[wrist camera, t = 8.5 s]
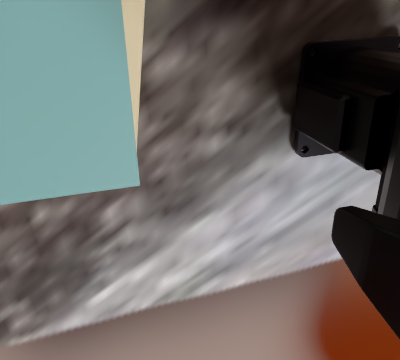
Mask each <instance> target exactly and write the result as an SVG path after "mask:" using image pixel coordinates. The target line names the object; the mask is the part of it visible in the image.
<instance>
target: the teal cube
mask: <svg viewBox="0 0 400 360" xmlns="http://www.w3.org/2000/svg"><path fill="white" fill-rule="evenodd" d="M139 185H140V180H139V171H138V161H137V151H136V141H135V131H134V121H133V111H132V101H131V92H130V82H129V72H128V62H127V52H126V42H125V32H124V23H123V13H122V3H121V0H0V205H3V204H10V203H17V202H24V201H31V200H39V199H46V198H53V197H60V196H67V195H75V194H82V193H89V192H96V191H103V190H111V189H118V188H125V187H132V186H139Z"/></svg>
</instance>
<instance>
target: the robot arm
mask: <svg viewBox="0 0 400 360" xmlns="http://www.w3.org/2000/svg"><path fill="white" fill-rule="evenodd" d="M399 43H400V36H391V37H376V38H362V39H347V40H332V41H317V42H309V43H307V44H306V45H305V46H304V48H303V51H302V59H301V72H300V82H299V84H298V85H297V94H296V107H295V120H294V127H295V128H296V133H295V146H294V150H295V153H296V154H298V155H299V156H301V157H310V156H317V155H324V154H331V153H339V154H340V155H342V156H344V157H345V158H347V159H349V160H350V161H352V162H354V163H355V164H357V165H359V166H360V167H362V168H364V169H365V170H374V171H375V172H377V173H379V174H380V175H381V180H380V185H379V190H378V195H377V200H376V205H374V206H373V208H372V211H368V210H365V209H361V208H358V207H354V206H347V207H341V208H338V209H337V210H336V211H335V215H334V221H333V228H332V241H333V243H334V245H335V247H336V248H337V250H338V252H339V253H340V255H341V257H342V258H343V260H344V261H345V263H346V265H347V266H348V268H349V269H350V271H351V273H352V274H353V276H354V278H355V279H356V281H357V283H358V284H359V286H360V287H361V289H362V290H363V292H364V293H365V294H366V296H367V297H368V299H369V300H370V301H371V302H372V304H373V305H374V306H375V308H376V309H377V310H378V312H379V313H380V314H381V316H382V317H383V318H384V320H385V321H386V322H387V324H388V325H389V326H390V327H391V329H392V330H393V332H394V333H395V334H396V335H397V337H398V338H399V339H400V47H399V49H398V45H399ZM312 48H314V50H315V52H314V54H313V56H310V51H311V49H312ZM305 145H306V147H305V149H304V150H303V151H301V149H302V147H303V146H305Z"/></svg>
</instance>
